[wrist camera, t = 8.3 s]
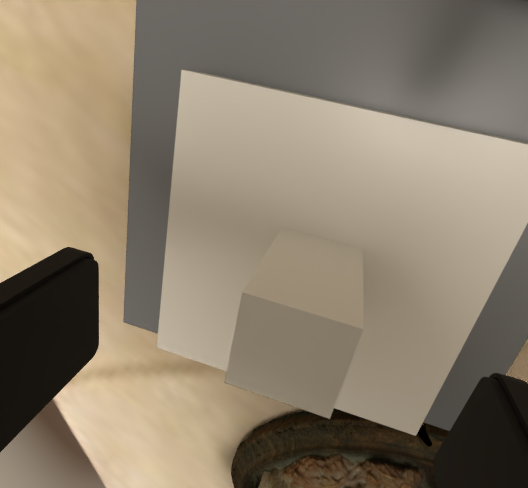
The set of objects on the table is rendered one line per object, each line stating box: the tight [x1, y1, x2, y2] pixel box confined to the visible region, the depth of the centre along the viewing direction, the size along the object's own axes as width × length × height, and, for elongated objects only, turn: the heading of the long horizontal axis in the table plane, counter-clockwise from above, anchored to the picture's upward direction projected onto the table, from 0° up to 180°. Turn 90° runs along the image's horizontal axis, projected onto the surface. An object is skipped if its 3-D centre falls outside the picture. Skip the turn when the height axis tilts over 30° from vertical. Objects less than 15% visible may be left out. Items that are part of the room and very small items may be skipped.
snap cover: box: [157, 70, 528, 436], centre depth 13 cm, size 12×12×7 cm
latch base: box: [124, 0, 528, 431], centre depth 14 cm, size 26×18×2 cm
